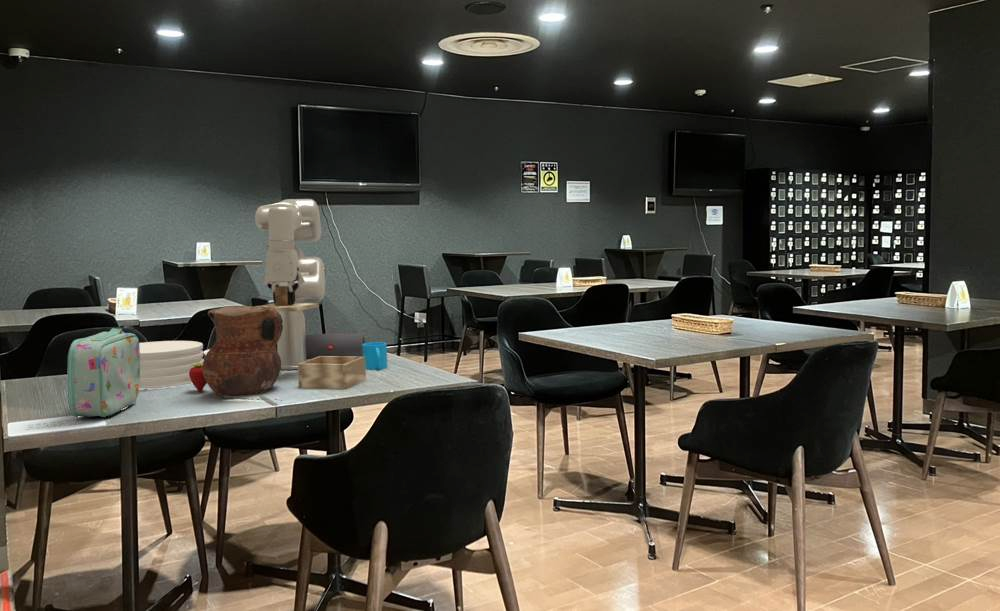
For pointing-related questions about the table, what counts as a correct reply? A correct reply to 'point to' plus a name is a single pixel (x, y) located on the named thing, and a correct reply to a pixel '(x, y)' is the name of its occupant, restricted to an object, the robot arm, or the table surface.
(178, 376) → the plate stack
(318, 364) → the storage box
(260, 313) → the jug
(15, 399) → the table surface
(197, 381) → the strawberry
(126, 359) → the lunch box
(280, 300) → the lid
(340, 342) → the bluetooth speaker
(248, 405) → the table surface
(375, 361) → the mug
